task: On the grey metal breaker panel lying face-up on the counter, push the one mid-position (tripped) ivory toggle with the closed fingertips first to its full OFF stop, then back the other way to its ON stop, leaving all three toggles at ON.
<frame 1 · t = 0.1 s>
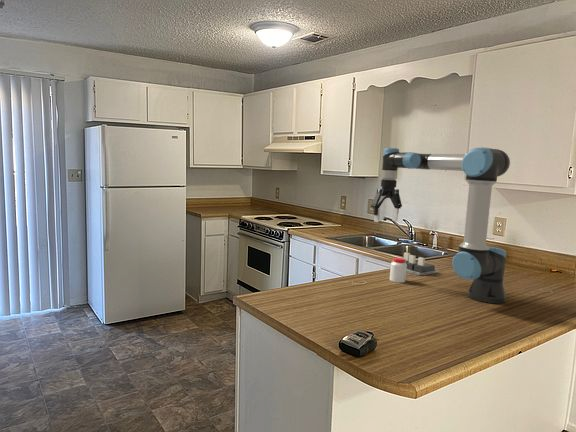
hand: (385, 221, 221), 28 cm above the countertop, fingers open, 13 cm apart
tripped handle: (406, 256, 244), point 7 cm above the countertop, slide at 0.0 cm
pill bottle: (397, 280, 216), on the countertop
handle mid: (412, 259, 237), point 6 cm above the countertop, slide at 3.0 cm
handle far: (421, 261, 232), point 6 cm above the countertop, slide at 3.0 cm
panel: (414, 270, 239), on the countertop
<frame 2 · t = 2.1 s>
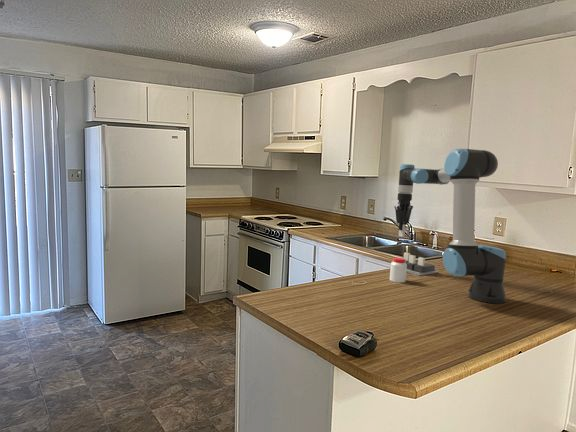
hand: (401, 236, 239), 18 cm above the countertop, fingers closed
nothing on the countertop moved.
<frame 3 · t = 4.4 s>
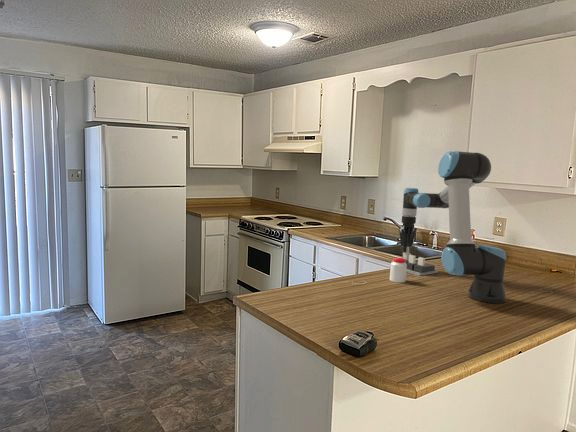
hand: (405, 258, 243), 6 cm above the countertop, fingers closed
tripped handle: (407, 256, 244), point 7 cm above the countertop, slide at -0.6 cm, touching gripper
everything else where it was.
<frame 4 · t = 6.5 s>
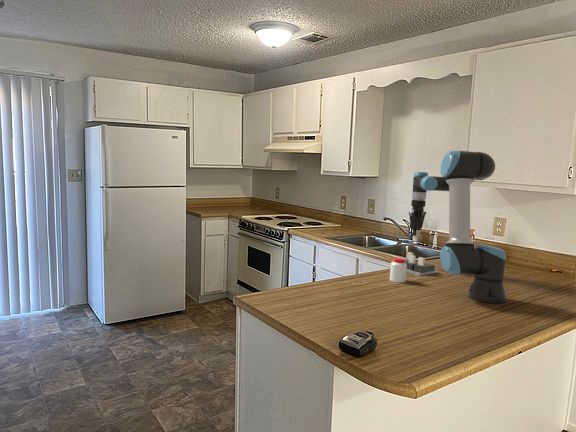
hand: (415, 241, 246), 15 cm above the countertop, fingers closed
tripped handle: (410, 256, 245), point 7 cm above the countertop, slide at -2.9 cm
everything else where it was.
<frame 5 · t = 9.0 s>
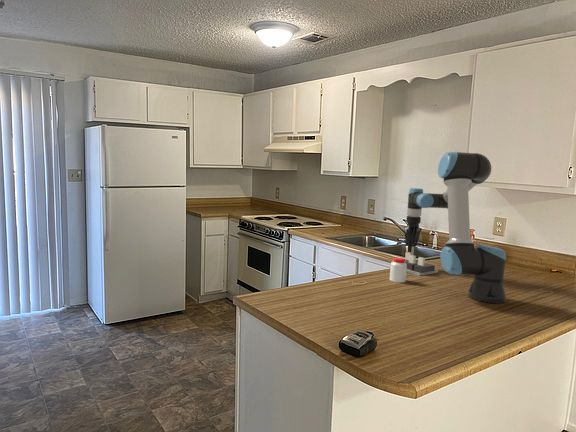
hand: (410, 257, 245), 6 cm above the countertop, fingers closed
tripped handle: (408, 256, 244), point 7 cm above the countertop, slide at -1.4 cm, touching gripper
everything else where it was.
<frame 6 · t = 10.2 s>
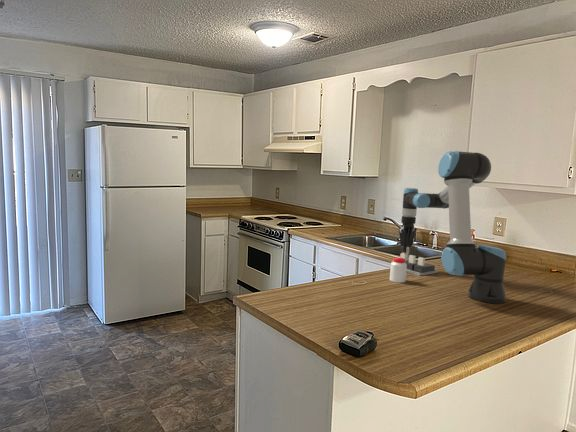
hand: (405, 258, 243), 6 cm above the countertop, fingers closed
tripped handle: (403, 256, 242), point 7 cm above the countertop, slide at 2.9 cm, touching gripper
everything else where it was.
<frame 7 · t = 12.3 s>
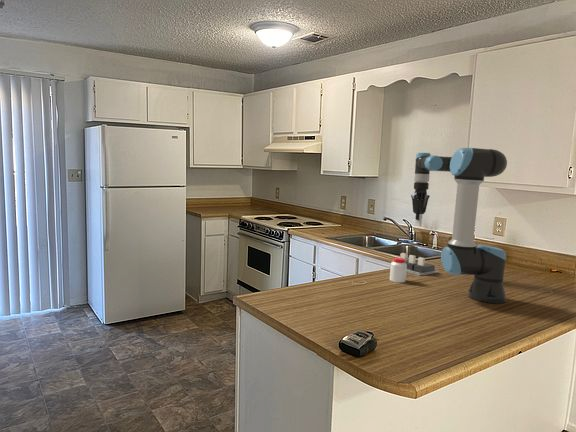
hand: (418, 225, 235), 25 cm above the countertop, fingers closed
tripped handle: (403, 256, 242), point 7 cm above the countertop, slide at 2.9 cm
everything else where it was.
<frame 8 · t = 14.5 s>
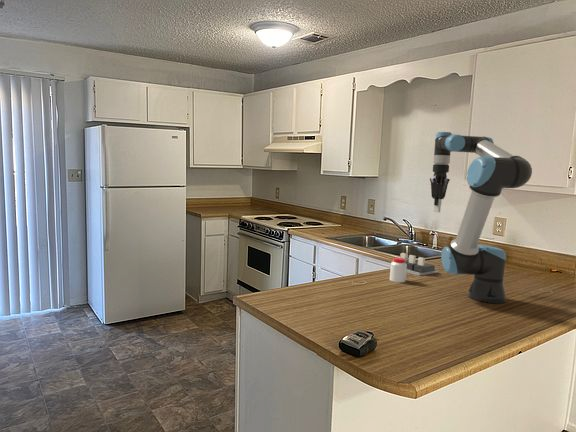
hand: (436, 212, 217), 34 cm above the countertop, fingers closed
nothing on the countertop moved.
at the end: tripped handle slide at 2.9 cm; handle mid slide at 3.0 cm; handle far slide at 3.0 cm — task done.
